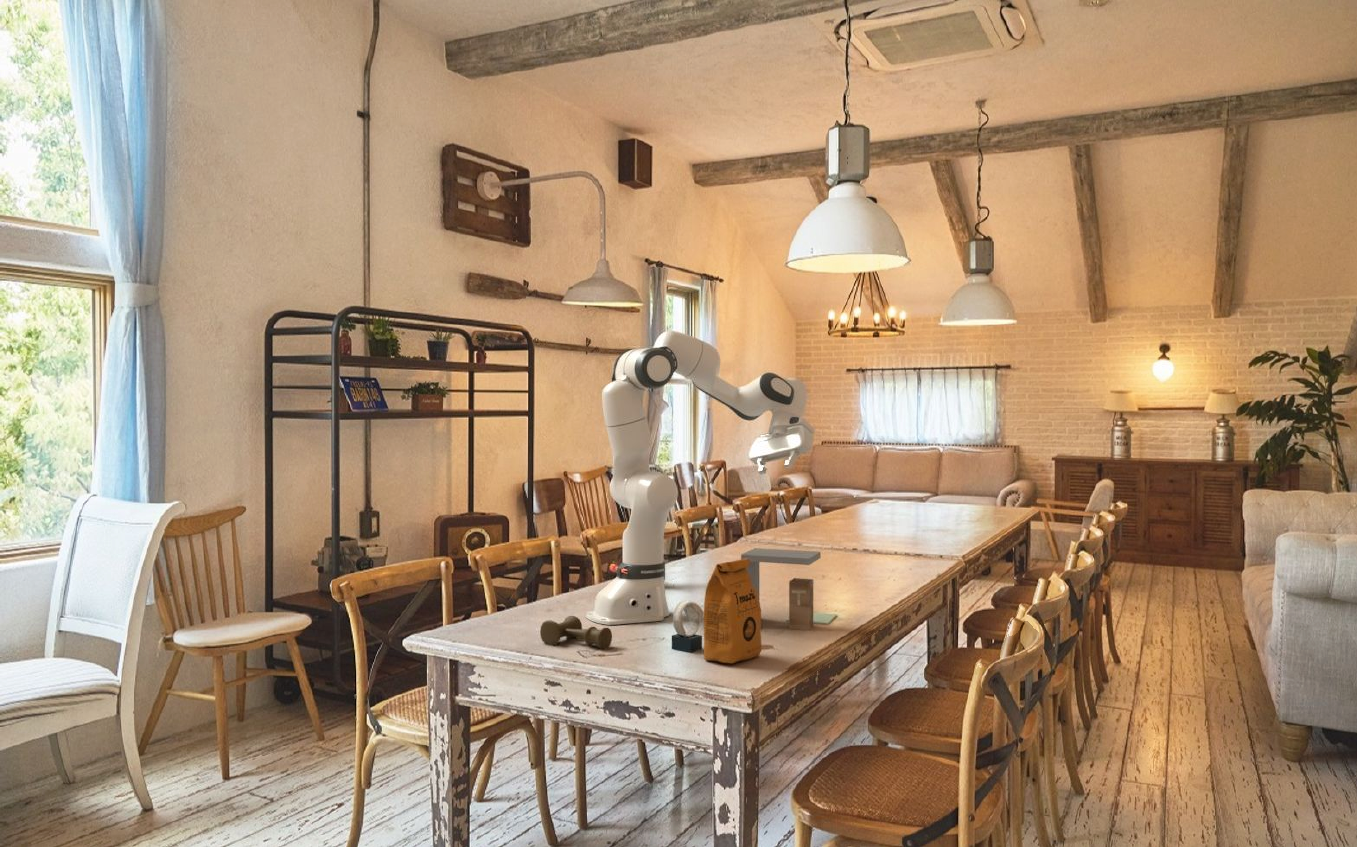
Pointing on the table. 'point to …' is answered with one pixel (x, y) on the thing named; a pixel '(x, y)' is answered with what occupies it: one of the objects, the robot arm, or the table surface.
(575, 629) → the kendama
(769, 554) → the awning
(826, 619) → the mat
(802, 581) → the letter block
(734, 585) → the coffee package
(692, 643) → the white ring on block
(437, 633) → the table surface
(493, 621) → the table surface
